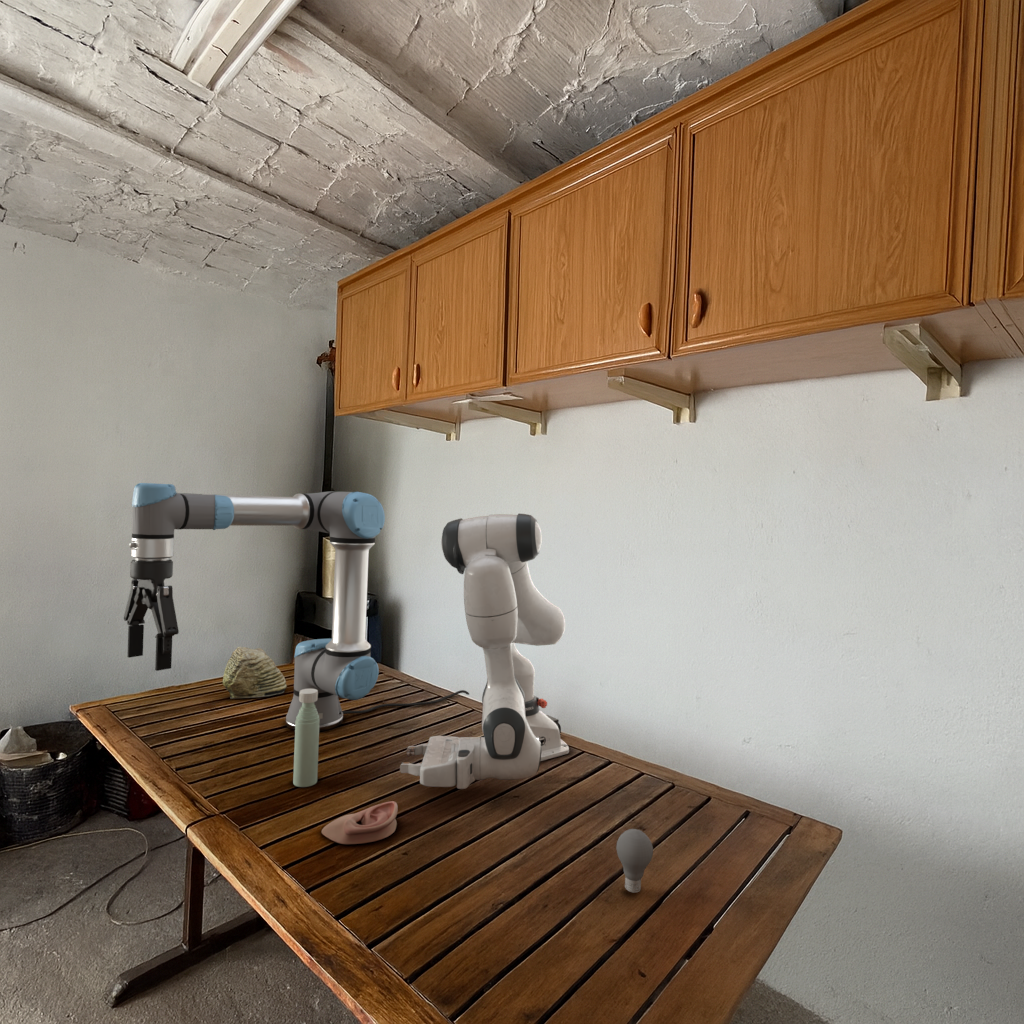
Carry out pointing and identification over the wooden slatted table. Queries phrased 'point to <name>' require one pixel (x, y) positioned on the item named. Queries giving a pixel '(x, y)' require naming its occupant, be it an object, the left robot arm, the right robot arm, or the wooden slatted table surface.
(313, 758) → the bottle
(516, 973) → the wooden slatted table surface
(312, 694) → the cap
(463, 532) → the right robot arm
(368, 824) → the anatomical model
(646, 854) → the light bulb
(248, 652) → the fossil
